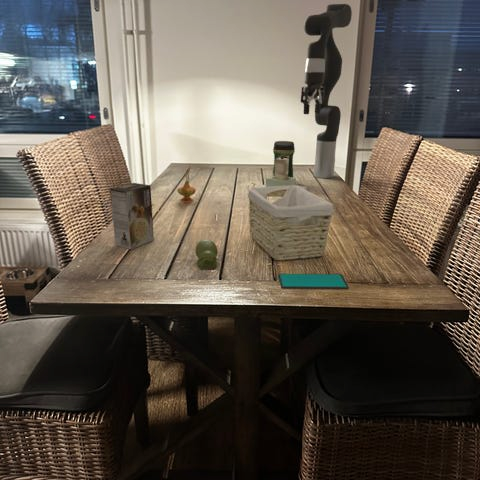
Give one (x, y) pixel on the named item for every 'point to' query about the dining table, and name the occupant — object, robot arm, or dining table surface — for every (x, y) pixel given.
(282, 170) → the beige long rectangular block
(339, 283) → the smartphone
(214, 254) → the green rounded piece
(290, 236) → the storage basket
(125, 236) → the coffee box
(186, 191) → the magic lamp
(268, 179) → the stand
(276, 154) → the coffee jar
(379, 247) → the dining table surface
